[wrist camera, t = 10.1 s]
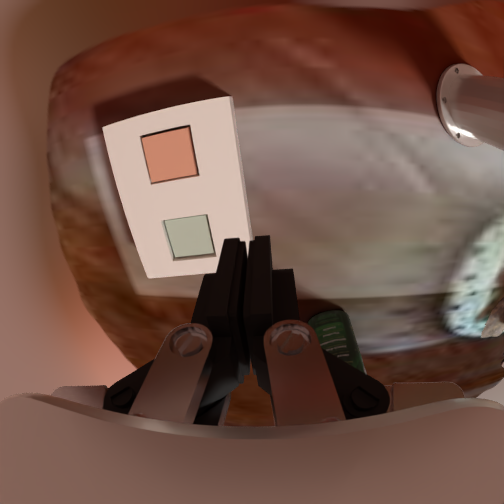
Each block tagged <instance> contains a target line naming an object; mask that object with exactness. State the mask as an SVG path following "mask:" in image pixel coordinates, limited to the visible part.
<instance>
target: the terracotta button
mask: <svg viewBox="0 0 504 504" xmlns="http://www.w3.org/2000/svg"><path fill="white" fill-rule="evenodd" d="M142 142H143V147H144V151H145V156H146V160H147V165H148V169H149V173H150V177H151V181H152V182H157V181H162V180H167V179H173V178H178V177H184V176H190V175H196V174H197V172H198V171H199V170H198V165H197V159H196V154H195V149H194V143H193V138H192V132H191V126H190V125H189V126H184V127H180V128H175V129H170V130H166V131H162V132H157V133H153V134H151V135H148V136H146V137H144V138H142Z"/></svg>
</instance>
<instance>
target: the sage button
mask: <svg viewBox="0 0 504 504" xmlns="http://www.w3.org/2000/svg"><path fill="white" fill-rule="evenodd" d="M165 225H166V228H167V232H168V235H169V239H170V242H171V245H172V249H173V252H174V255H175V257H182V256H192V255H201V254H210V253H214V252H215V247H214V243H213V238H212V233H211V229H210V224H209V219H208V215H207V214H204V215H197V216H190V217H183V218H176V219H169V220H165Z"/></svg>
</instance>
